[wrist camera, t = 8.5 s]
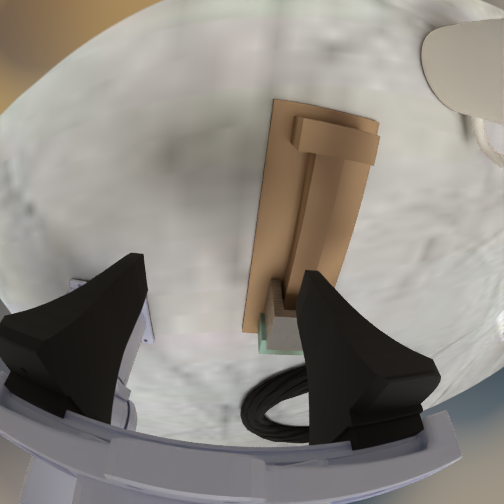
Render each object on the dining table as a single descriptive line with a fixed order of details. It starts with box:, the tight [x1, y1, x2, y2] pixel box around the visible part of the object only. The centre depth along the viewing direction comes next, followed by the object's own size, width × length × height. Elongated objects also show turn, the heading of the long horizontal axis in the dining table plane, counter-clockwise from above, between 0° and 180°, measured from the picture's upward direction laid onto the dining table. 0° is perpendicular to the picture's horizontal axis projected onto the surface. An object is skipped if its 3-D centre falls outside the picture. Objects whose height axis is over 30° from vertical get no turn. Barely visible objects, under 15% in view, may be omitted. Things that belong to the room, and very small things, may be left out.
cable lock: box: [240, 367, 309, 443], centre depth 36 cm, size 28×4×30 cm
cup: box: [421, 18, 504, 168], centre depth 10 cm, size 8×12×10 cm
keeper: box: [264, 279, 303, 351], centre depth 23 cm, size 4×4×5 cm
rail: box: [242, 99, 380, 355], centre depth 21 cm, size 8×22×4 cm, turn 173°
